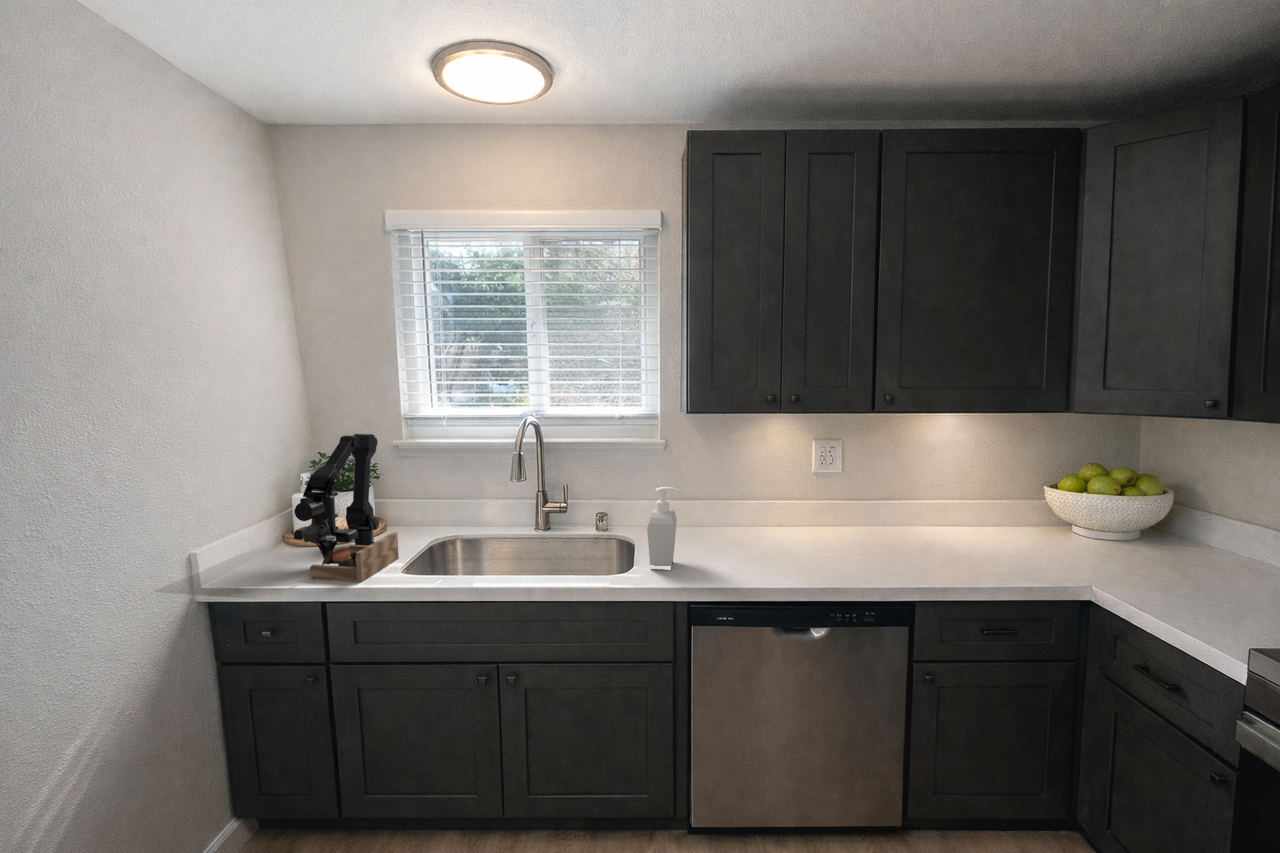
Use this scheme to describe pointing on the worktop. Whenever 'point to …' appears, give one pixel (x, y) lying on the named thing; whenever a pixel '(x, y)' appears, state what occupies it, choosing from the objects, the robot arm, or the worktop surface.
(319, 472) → the robot arm
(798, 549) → the worktop surface
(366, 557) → the walnut bay
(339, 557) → the pottery mug
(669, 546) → the soap bottle
